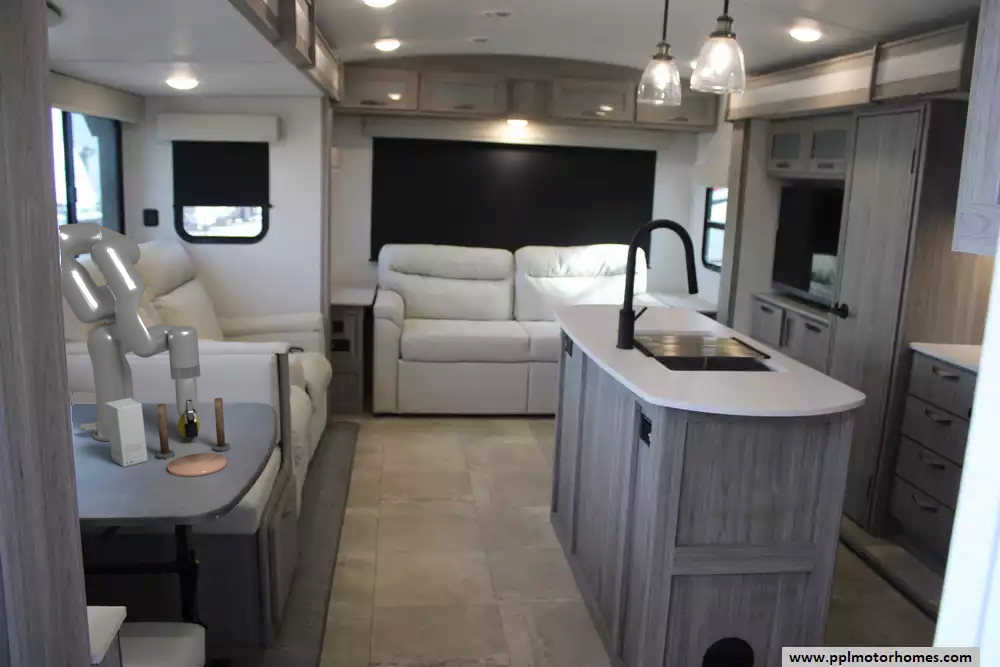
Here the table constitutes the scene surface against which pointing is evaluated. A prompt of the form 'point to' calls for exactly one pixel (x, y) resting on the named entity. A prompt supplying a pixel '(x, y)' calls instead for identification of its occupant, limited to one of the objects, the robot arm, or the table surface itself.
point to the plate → (197, 464)
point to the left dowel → (163, 434)
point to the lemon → (182, 427)
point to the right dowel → (220, 427)
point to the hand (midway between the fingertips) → (190, 432)
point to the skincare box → (126, 432)
